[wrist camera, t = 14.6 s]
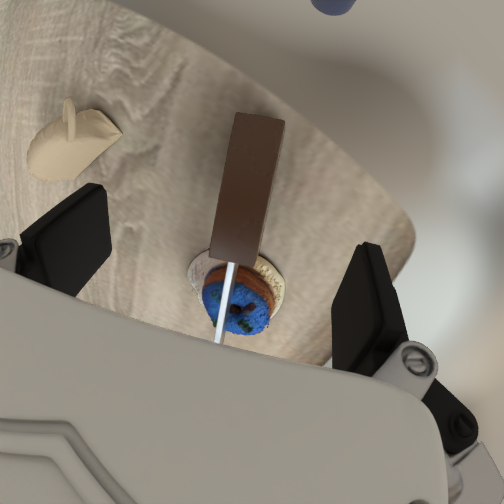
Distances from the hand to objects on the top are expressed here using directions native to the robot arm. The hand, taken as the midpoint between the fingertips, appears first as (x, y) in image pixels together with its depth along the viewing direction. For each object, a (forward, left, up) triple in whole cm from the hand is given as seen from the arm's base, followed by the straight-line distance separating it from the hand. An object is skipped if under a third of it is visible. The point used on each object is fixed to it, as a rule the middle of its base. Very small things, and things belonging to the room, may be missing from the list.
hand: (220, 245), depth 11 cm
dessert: (+10, 0, -10) cm, 14 cm away
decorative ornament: (0, -13, -10) cm, 17 cm away
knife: (+6, 0, -7) cm, 9 cm away
